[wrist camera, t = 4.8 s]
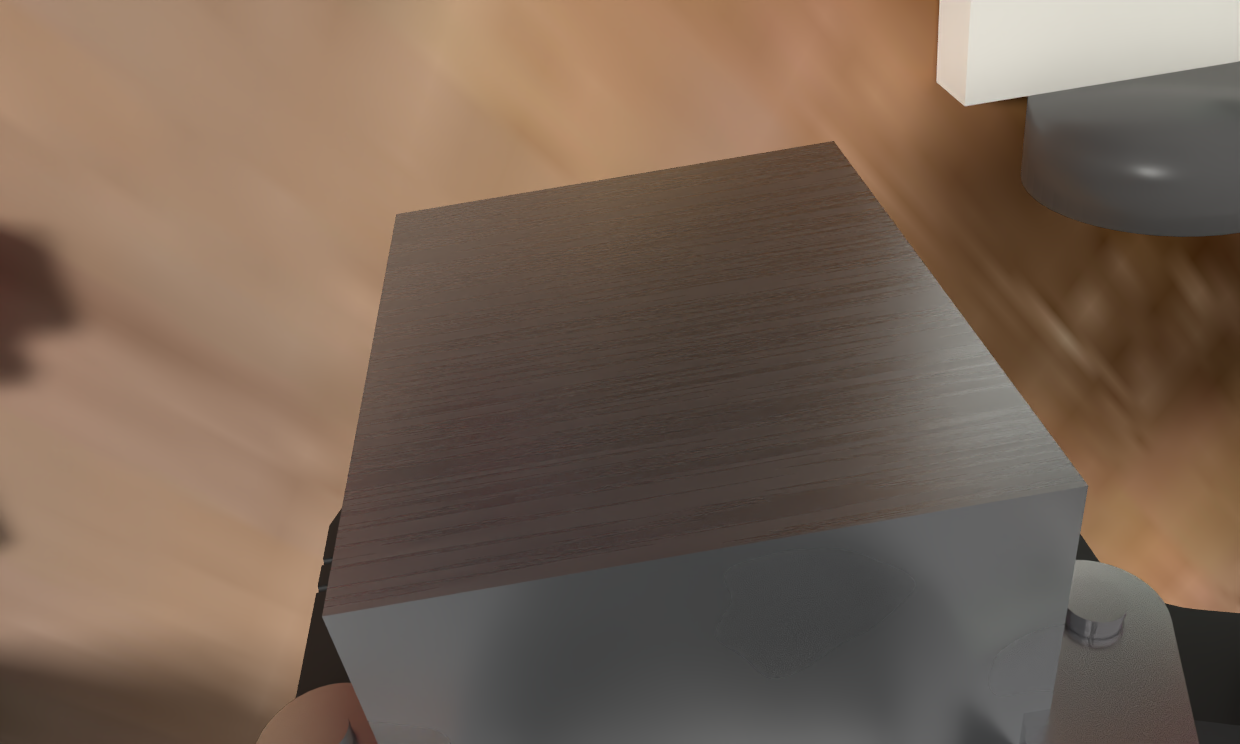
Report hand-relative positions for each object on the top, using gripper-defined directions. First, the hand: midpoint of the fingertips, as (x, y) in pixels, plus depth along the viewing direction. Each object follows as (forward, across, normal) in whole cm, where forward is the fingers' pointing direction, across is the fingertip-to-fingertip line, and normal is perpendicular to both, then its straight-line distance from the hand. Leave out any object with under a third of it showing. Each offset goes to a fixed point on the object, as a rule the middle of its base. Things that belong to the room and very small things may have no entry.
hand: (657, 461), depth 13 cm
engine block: (+1, 0, 0) cm, 1 cm away
